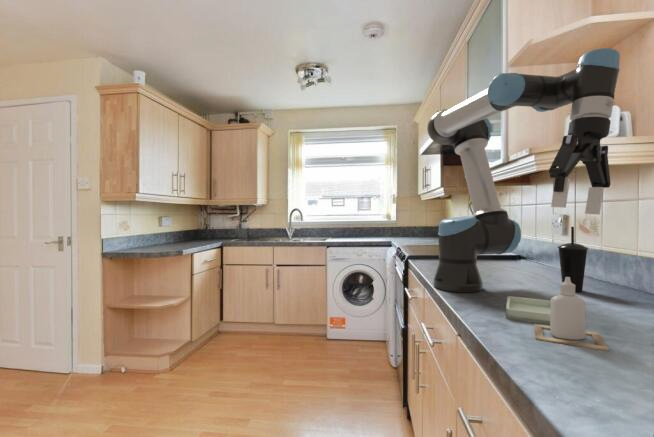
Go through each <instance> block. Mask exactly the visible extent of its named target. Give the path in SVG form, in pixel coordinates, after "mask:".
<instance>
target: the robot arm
mask: <svg viewBox="0 0 654 437" xmlns="http://www.w3.org/2000/svg"><path fill="white" fill-rule="evenodd" d="M620 59H621V53H620V52H619V51H618V50H617V49H613V48H611V47H601V48H596V49H591V50H590V51H587V52H585V53H584V54H582V55H581V56H580V58H579V59H578V63H577V65H576V67H577V68H575V69H573V70H571V71H568V72H567V73H564V74H562V75H559V76H553V75H552V76H550V75H538V74H537V75H536V74H526V73H525V74H524V73H518V72H507V73H506V72H505V73H504V72H503V73H499V74H497V75H495V76H494V78H493V80H491V81H490V82H489V85H488V88H486V89H484V90H483V91H480V92H479V93H477V94H475V95H473V96H471V97H470V98H468V99H466V100H464V101H462V102H460V103H458V104H457V105H455V106H453V107H451V108H450V109H448V108H446V109H442V110H440V111H438V112H436V113H435V114H433V115H432V116H431V117H430V119H429V121H428V123H427V126H426V127H427V134H428V136H429V138H430V139H431V140H432V141H433V142H434V143H435V144H436V143H437V144H438V145H443V146H444V145H445V146H453V149H454V153H455V154H456V155H458V156H460V161H461V164H462V169H463V172H464V177H465V181H466V182H465V183H466V186H467V190H468V193H469V198H470V202H471V206H472V210H473V215H469V216H468V215H467V216H466V215H465V216H456V217H454V216H453V217H450V218H445V219H441V221H440V222H439V224H438V230H437V231H438V232H437V235H438V265H437V268H436V270H435V271H436V272H435V274H434V277H433V287H434V288H437V289H439V290H442V291H446V292H455V293H476V292H481V291H482V290H483V288H484V287H483V286H484V285H483V284H484V283H483V279H482V276H481V274H480V271H479V267H478V266H477V256H478V255H479V256H481V255H482V256H483V255H484V256H485V255H502V254H508V253H509V254H510V253H512V252H513V251H515V250H516V249H517V248H518V246H519V244H520V243H521V239H522V229H521V226H520V224H519V223H518V222H517V221H516V220H514V219H511V218H509V214H508V211H507V210H506V209H504V208H502V207H501V205H500V204H501V203H500V201H499V197H498V193H497V189H496V185H495V182H494V178H493V175H492V171H491V167H490V163H489V159H488V155H487V152H486V149H485V148H486V147H488V145H489V144H488V143H489V141H490V139H491V138H492V134H491V133H492V131H493V130H492V124H491V121H490V120H489V117H492V116H494V115H497V114H499V113H501V112H504V111H507V110H509V109H512V108H514V107H529V108H530V107H531V108H532V109H534V110H535V111H536V112H539V113H543V112H548V111H554V110H557V109H559V108H562V107H565V106H568V105H570V104H572V105H571V109H570V116H569V120H570V122H569V124H568V130H567V135H564V136H563V137H562V142H561V145H560V146H559V147H560V148H559V149H558V151H557V153H556V156H555V157H554V159H553V161H552V163H551V165H550V167H549V168H548V173H549V177H550V178H551V179H554V184H553V192H552V199H551V205H550V207H551V208H563V209H564V208H565V209H566V208H567V202H568V194H569V189H570V183H571V178H569V177H568V176H569V175H570V174H571V173H572V172H573V170H574V169H575V168H576V166H577V165H578V164H579V162H582V165H584V166H585V167H586V170H587V175H588V179H589V182H590V185H591V186H590V187H588V191H587V199H586V206H585V212H584V213H585V215H601V209H602V202H603V196H604V189H606V188H607V189H608V188H610V186H611V175H610V174H611V173H610V166H609V157H608V156H609V154H608V153H609V146H608V145H601V140H602V139H604V138H607V137H608V136H609V135H610V130H611V129H610V128H611V120H610V119H611V117H612V113H613V108H614V107H613V106H615V105H616V102H615V101H614V100H615V92H616V87H617V82H618V79H619V78H618V76H619V73H620V70H621V69H620Z"/></svg>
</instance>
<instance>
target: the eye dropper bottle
mask: <svg viewBox="0 0 654 437" xmlns="http://www.w3.org/2000/svg"><path fill="white" fill-rule="evenodd" d="M559 287H560V288H559V293H560V294H557V295H554V296H553V297H551V298H550V301H551V305H550V325H549V326H550V329H549V330H550V335H552V336H553V337H555V338H556V339H561V340H567V341H579V340H580V341H581V340H585V339H586V331H587V330H586V326H587V324H586V319H587V318H586V317H587V316H586V309H587V308H586V302H585V300H584V299H583V298H582V297H579V296H576V292H575V284H572V283H571V280H570V277H565V281H564V282H563V283H562V282H560V284H559Z"/></svg>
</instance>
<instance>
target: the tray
mask: <svg viewBox="0 0 654 437" xmlns="http://www.w3.org/2000/svg"><path fill="white" fill-rule="evenodd" d="M550 305H551V299H549V300H548V299H540V298H530V297H521V296H511V295H510V296H509V295H507V297H506V305H505V306H506V307H505V319H507V320H513V321H514V320H515V321H521V322H527V323H534V324H541V325H548V326H550Z"/></svg>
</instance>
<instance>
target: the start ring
mask: <svg viewBox="0 0 654 437" xmlns="http://www.w3.org/2000/svg"><path fill="white" fill-rule="evenodd" d="M533 327H534V335H535V339H536V340H539V341H544V342H551V343H557V344H562V345H563V344H564V345H567V346H568V345H570V346H575V347H580V346H582V347H581V348H587V347H588V349H593V350H600V351H607V352H609V351H610V348H609V347H608V346H607V344H606V343H605V341H604V340H603V338H602V336H601V335H600V334H599V332H595V331H589V330H586V335H587V336H591V337H592V339H593V341H594V342H595V344H592V343H586V342H579V341H575V340H568V339H561V338H553V337H548V336H547V337H546V336H544V332H543V329H546V330H550V325H547V324H540V323H534V324H533Z"/></svg>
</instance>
